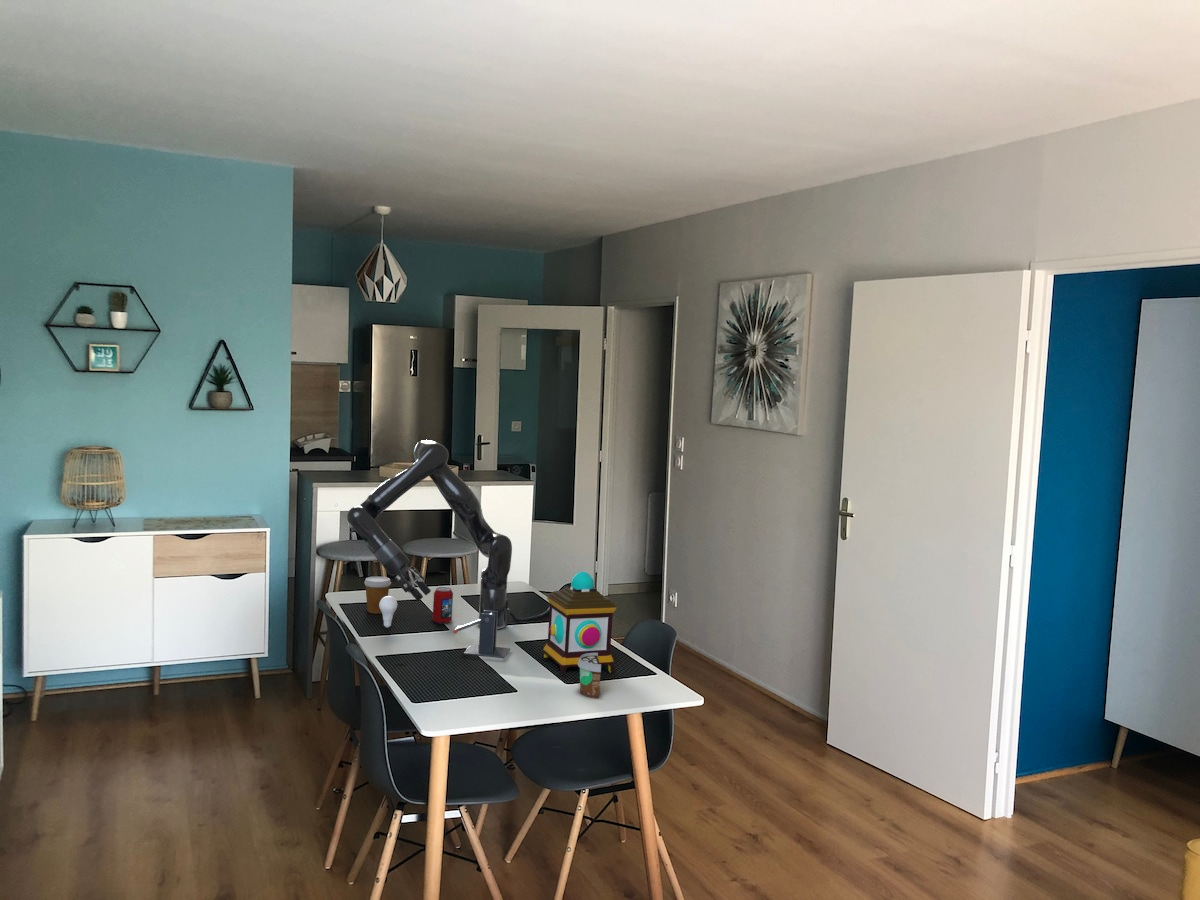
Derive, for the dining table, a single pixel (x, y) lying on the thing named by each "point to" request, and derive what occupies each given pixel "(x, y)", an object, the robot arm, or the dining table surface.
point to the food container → (589, 675)
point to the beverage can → (442, 605)
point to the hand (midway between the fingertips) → (424, 596)
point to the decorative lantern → (579, 624)
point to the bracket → (487, 638)
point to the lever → (467, 625)
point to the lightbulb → (388, 609)
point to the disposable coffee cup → (376, 592)
